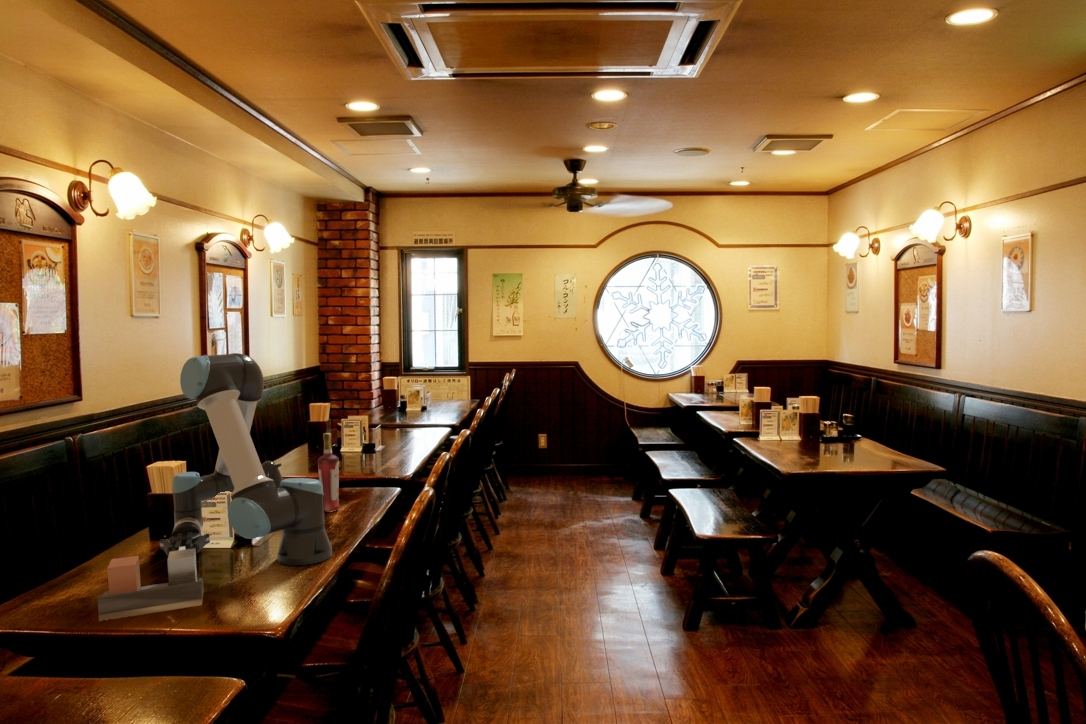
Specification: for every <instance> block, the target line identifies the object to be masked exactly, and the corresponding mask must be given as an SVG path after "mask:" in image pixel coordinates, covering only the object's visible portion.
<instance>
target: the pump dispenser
mask: <svg viewBox="0 0 1086 724" xmlns="http://www.w3.org/2000/svg"><path fill="white" fill-rule="evenodd" d="M261 465H262V468H263V471H264V473H265V476H266V477H267V478H270V479H272V480H273V481H274V483H275V486H276V488H280V487H281V486H280V483H281V481H282V480H283V477H282V473H281V471H280V469H279V468H280V467H281V466H282V463H281V462H280V463H277V464H276V462H274V461H271V460H266V461H264V462H263V463H261Z"/></svg>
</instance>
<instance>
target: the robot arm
mask: <svg viewBox="0 0 1086 724" xmlns="http://www.w3.org/2000/svg"><path fill="white" fill-rule="evenodd" d="M179 376H180V379H179V381H180V383H179V385H180V389H181V392H182V394H183V395H184V397H186V398H187V399H190V400H195V402H196V405H197V407H198V408H199V409H201V410H203V411H204V412H206V416H207V417H208V420H209V423H210V424H209V425H210V426H211V428H212V431H213V434H214V437H215V439H216V442H217V445H218V448H219V449H218V455H217V459H216V463H215V468H214V472H213V473H210V474H207V475H202V476H200V473H199V472H196V471H186V472H179V473H177V474H175V475H174V476H173V478H172V489H171V490H172V497H173V498H172V499H173V508H174V509H173V516H174V527H173V530H172V532H171V537H169V538H168V539H164V538H160V539H159V549H160V550H163V551H164V552H165V554H166V555H167V557H168V556H169V552H171V551H178V550H186V549H193V548H195V552H196V554H198V553H199V552H200V551H201V550H202V549H203V548H205V546H206V545H208V544H210V543H211V539H210V538H211V537H210V533H206V534H202V530H203V525H204V517H203V513H202V511H203V510H202V508H203V507H202V503H203V502H205V501H209V500H212V498H213V497H215V496H216V495H217V494H218V493H220V492H225V491H230V492H233V493H232V494H231V495H230V498H231V501H230V502H229V504H228V507H227V512H228V513H227V518H228V522H229V524H230V525H231V527H232V529H233V530H234V532H235V533H236V534H237V535H239V536H240V537H243V538H244V539H248V540H249V539H250V540H252V539H257V538H262V537H263V538H264V537H266V536H268V535H271V534H274V533H277V532H280V531H282V536H281V539H280V543H279V546H278V550H277V552H276V553H277V555H276V556H277V562H278V563H279V562H280V563H282V564H281V565H283V564H285V566H288V565H303V566H308V564H310V565H314V563H315V564H318V562H319V563H321V562H324V561H326V560H328V559H329V558H331V557H332V556H333V547H332V544H331V541H330V539H329V537H328V534H327V531H326V527H325V512H324V493H323V486H322V483H321V482H320V481H319V479H316V478H309V477H307V478H306V477H295V478H294V477H292V478H284V479H282V481H281V483H280V486H281V487H280V488H276V486H275V483H274V481H273V480H272V479H270V478H267V477H266V476H265V473H264V471H263V468H262V463H261V461H260V458H259V455H258V453H257V450H256V448H255V444H254V442H253V439H252V437H251V428H252V426H253V420H254V416H255V411H256V408H257V404H258V402H259V401H261V400H262V398H263V395H264V394H263V393H264V389H265V381H264V375H263V372H262V369H261V367H260V366H259V364H258V363H257V361H256V360H255V359H254V358H252V357H251V356H249V355H247V354H243V353H237V352H236V353H235V352H234V353H227V354H226V353H225V354H212V355H211V354H210V355H207V354H203V355H200V356H193V357H190V358H189V359H187V360H186V361H185V363H183V366H182V367H181V372H180V375H179ZM280 563H279V564H280Z"/></svg>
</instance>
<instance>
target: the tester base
mask: <svg viewBox="0 0 1086 724" xmlns="http://www.w3.org/2000/svg"><path fill="white" fill-rule="evenodd" d="M203 598H204V579H203V577H199V578H198V577H197V582H192V583H185V584H179V585H172V586H169V582H163V583H157V584H152V585H151V584H149V585H144V586H143V585H141V588H140V590H138V591H131V592H125V593H118V594H111V595H109V590H108V591H104V593H103V595H99V596H97V611H98V612H97V614H98V622H104V621H103V620H105V621H109V619H111V620H117V619H122V617H123V618H128V617H129V616H130V617H135V616H140V615H148V614H154V613H161V612H165V611H166V612H167V611H172V610H173V611H174V610H179V609H184V608H190V607H193V608H194V607H198V606H199V607H200V606H202V605H203Z"/></svg>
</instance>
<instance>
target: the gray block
mask: <svg viewBox="0 0 1086 724" xmlns="http://www.w3.org/2000/svg"><path fill="white" fill-rule="evenodd" d="M167 573H168V575H167V577H168V583H169V586H172V585H179V584H185V583H192V582H198V575H197V574H198V573H197V553H196V552H195V548H193V549H186V550H178V551H171V552H169V556H167Z"/></svg>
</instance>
